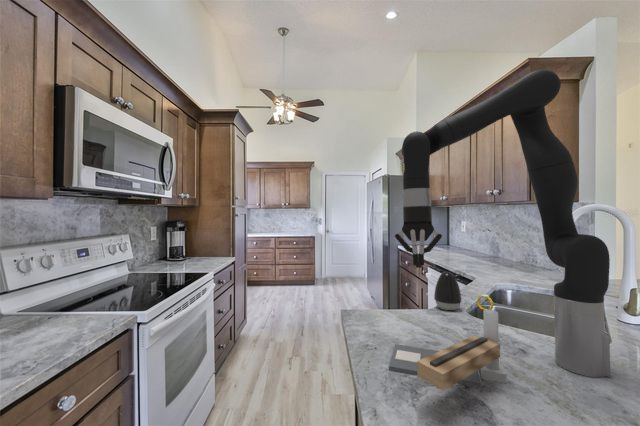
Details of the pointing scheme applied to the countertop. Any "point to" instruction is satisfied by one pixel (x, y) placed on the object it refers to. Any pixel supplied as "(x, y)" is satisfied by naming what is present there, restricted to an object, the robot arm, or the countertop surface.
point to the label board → (408, 356)
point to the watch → (488, 299)
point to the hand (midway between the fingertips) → (418, 267)
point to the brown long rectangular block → (457, 361)
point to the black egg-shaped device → (447, 291)
